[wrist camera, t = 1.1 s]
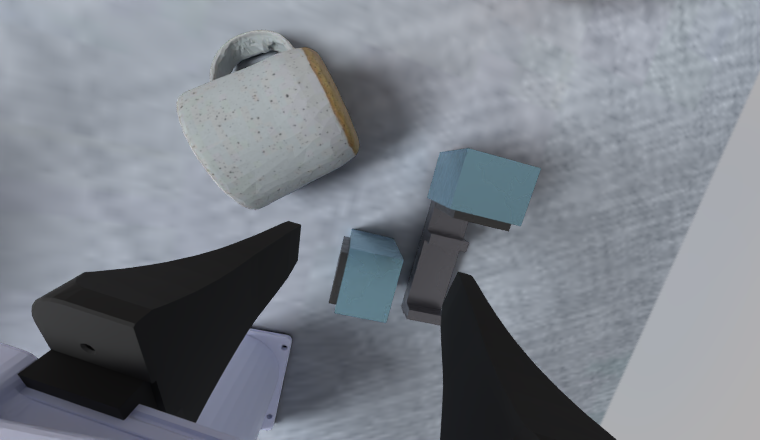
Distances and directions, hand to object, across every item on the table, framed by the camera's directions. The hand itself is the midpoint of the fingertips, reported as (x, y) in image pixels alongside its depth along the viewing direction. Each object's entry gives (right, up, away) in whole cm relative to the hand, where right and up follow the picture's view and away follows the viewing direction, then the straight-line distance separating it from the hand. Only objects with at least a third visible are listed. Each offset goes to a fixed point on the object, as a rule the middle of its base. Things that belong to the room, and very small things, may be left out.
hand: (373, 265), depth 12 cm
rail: (+5, +1, +11) cm, 12 cm away
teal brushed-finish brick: (-1, -1, +11) cm, 11 cm away
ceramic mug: (-7, +9, +9) cm, 15 cm away
